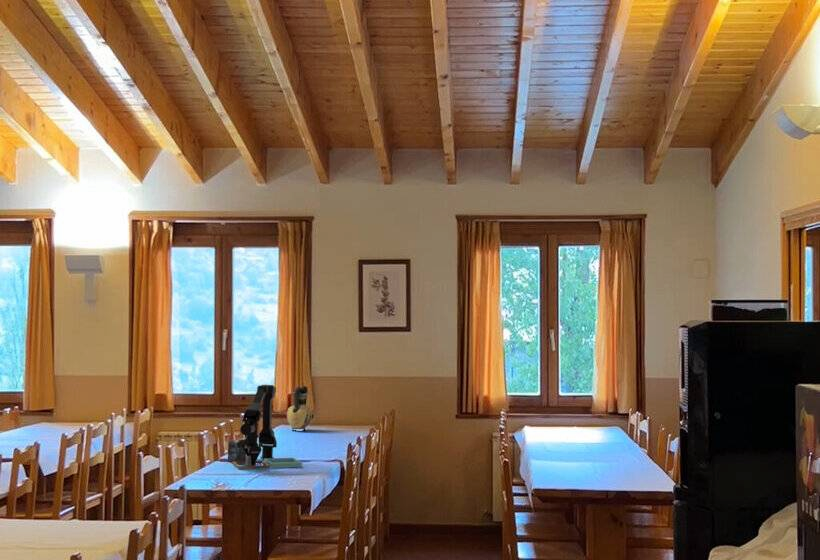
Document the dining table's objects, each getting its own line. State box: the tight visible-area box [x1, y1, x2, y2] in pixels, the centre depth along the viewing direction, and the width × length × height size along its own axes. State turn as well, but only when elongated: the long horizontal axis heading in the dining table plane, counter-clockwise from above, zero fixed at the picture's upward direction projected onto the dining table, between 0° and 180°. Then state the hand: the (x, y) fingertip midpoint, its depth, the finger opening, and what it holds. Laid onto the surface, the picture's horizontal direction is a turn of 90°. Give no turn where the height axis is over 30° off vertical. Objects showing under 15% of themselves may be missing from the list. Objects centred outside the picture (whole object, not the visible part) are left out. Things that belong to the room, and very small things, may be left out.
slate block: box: [244, 456, 257, 466], centre depth 441 cm, size 4×4×5 cm
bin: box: [263, 457, 303, 469], centre depth 447 cm, size 16×16×2 cm
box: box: [227, 440, 246, 463], centre depth 454 cm, size 8×6×11 cm
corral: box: [231, 460, 270, 470], centre depth 441 cm, size 16×16×2 cm
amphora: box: [286, 385, 313, 430], centre depth 590 cm, size 18×17×30 cm
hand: (250, 463), depth 441 cm, fingers open, 9 cm apart
